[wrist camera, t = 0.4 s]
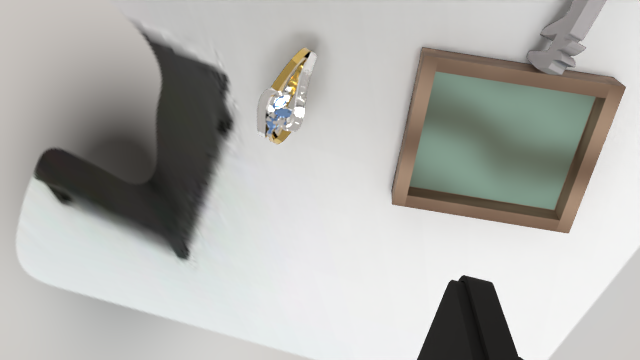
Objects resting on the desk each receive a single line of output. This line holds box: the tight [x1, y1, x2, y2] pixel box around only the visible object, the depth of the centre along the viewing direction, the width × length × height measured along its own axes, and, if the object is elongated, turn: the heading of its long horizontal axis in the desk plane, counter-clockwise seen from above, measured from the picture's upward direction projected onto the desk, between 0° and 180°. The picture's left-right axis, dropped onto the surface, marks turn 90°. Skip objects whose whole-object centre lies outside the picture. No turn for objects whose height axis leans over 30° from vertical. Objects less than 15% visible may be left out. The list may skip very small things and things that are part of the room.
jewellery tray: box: [392, 47, 626, 233], centre depth 43 cm, size 12×14×2 cm
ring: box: [257, 48, 317, 144], centre depth 40 cm, size 7×3×8 cm, turn 149°
